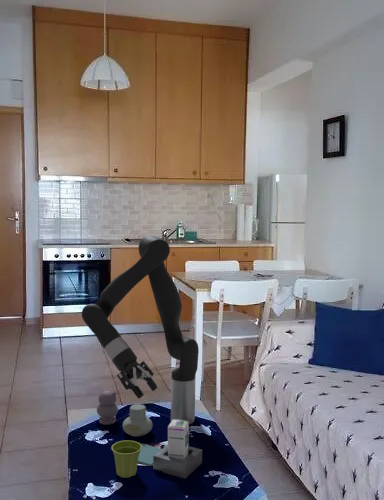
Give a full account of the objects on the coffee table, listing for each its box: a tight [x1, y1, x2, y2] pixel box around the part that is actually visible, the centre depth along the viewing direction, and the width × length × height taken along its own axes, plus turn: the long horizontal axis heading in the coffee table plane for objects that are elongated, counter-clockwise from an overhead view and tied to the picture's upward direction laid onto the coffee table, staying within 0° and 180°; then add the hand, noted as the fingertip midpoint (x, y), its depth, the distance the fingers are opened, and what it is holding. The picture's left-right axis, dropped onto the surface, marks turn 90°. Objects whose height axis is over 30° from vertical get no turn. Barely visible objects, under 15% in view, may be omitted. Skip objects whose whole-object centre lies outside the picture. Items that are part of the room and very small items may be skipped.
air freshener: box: [122, 403, 153, 438], centre depth 198 cm, size 11×8×10 cm
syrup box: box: [167, 419, 190, 460], centre depth 174 cm, size 6×6×14 cm
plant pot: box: [111, 440, 142, 479], centre depth 169 cm, size 9×9×9 cm
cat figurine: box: [96, 388, 119, 426], centre depth 208 cm, size 8×8×12 cm
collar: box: [152, 444, 203, 480], centre depth 175 cm, size 12×12×4 cm
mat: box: [138, 443, 163, 467], centre depth 182 cm, size 11×11×1 cm
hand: (148, 393), depth 178 cm, fingers open, 8 cm apart
